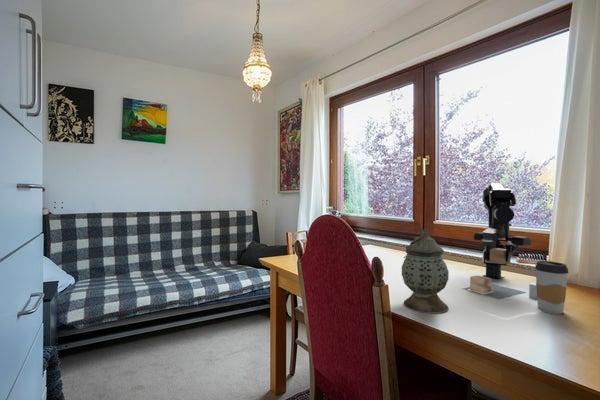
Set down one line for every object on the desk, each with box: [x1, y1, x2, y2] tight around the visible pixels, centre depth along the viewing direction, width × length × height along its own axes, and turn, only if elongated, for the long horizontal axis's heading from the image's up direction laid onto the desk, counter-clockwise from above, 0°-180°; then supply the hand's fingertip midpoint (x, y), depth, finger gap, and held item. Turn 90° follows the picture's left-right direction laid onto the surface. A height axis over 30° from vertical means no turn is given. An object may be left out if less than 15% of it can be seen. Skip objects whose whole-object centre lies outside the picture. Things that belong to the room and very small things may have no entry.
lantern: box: [401, 229, 450, 315], centre depth 101 cm, size 14×14×25 cm
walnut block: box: [490, 248, 511, 264], centre depth 122 cm, size 5×5×5 cm
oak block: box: [469, 274, 492, 293], centre depth 118 cm, size 5×5×5 cm
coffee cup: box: [534, 260, 569, 315], centre depth 99 cm, size 8×8×15 cm
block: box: [528, 281, 537, 299], centre depth 111 cm, size 5×5×5 cm
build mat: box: [461, 283, 527, 300], centre depth 118 cm, size 18×14×1 cm
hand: (499, 260), depth 122 cm, fingers closed on walnut block, 5 cm apart
